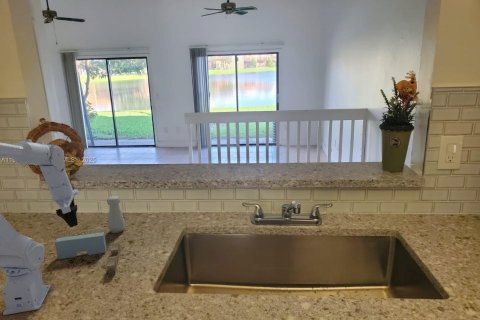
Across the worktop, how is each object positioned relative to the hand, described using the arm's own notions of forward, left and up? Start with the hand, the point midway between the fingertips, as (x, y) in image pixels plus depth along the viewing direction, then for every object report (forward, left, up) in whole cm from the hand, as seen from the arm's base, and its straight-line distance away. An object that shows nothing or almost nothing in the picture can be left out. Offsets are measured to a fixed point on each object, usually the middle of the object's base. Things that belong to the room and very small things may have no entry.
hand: (72, 218), depth 105 cm
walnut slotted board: (-9, -12, -12) cm, 19 cm away
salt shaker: (+13, -10, -12) cm, 21 cm away
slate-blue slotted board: (-1, -1, -12) cm, 12 cm away
